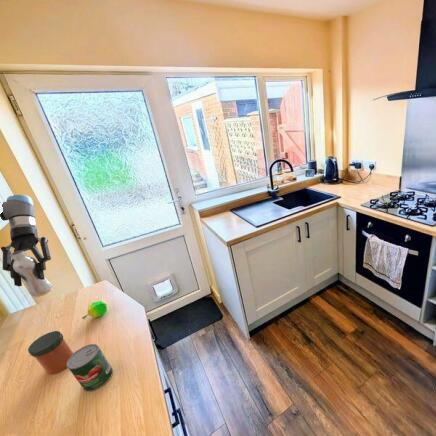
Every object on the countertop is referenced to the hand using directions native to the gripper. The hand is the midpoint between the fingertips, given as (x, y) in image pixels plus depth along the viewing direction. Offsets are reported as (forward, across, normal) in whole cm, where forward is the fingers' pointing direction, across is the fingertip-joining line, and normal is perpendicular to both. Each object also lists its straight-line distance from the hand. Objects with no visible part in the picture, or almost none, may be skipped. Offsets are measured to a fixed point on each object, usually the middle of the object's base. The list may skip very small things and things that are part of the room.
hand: (29, 281), depth 95 cm
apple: (+20, -16, -9) cm, 27 cm away
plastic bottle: (+4, 0, -9) cm, 9 cm away
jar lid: (+27, -8, +12) cm, 30 cm away
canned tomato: (+44, -21, +15) cm, 51 cm away
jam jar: (+34, -8, +5) cm, 35 cm away
